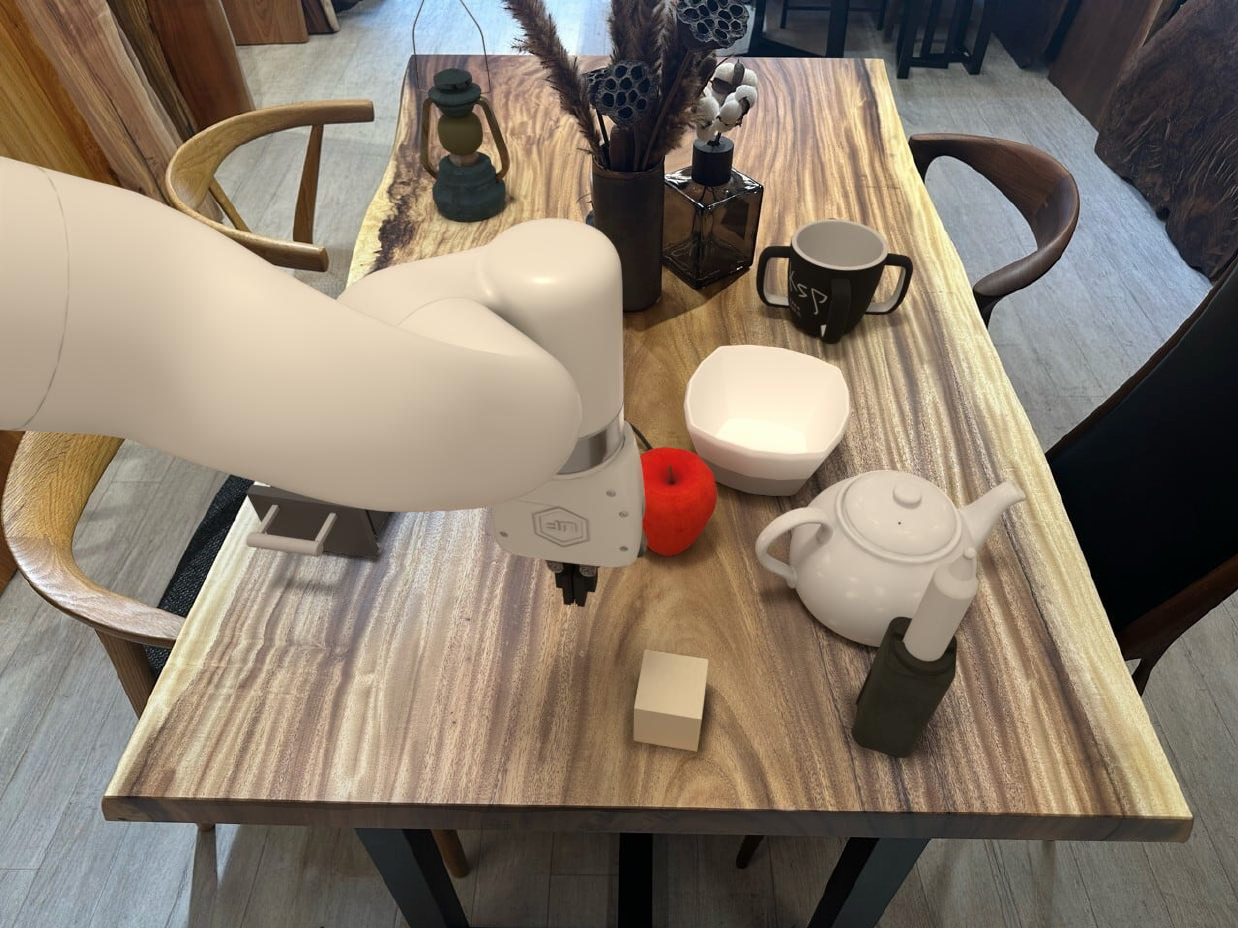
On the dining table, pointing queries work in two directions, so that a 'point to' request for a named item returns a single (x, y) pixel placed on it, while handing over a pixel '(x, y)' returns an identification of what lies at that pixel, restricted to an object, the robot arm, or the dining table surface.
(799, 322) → the mug
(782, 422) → the bowl
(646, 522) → the apple
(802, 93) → the dining table surface
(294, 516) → the drawer
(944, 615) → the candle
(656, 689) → the block
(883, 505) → the teapot
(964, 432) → the dining table surface
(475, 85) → the lantern
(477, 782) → the dining table surface
